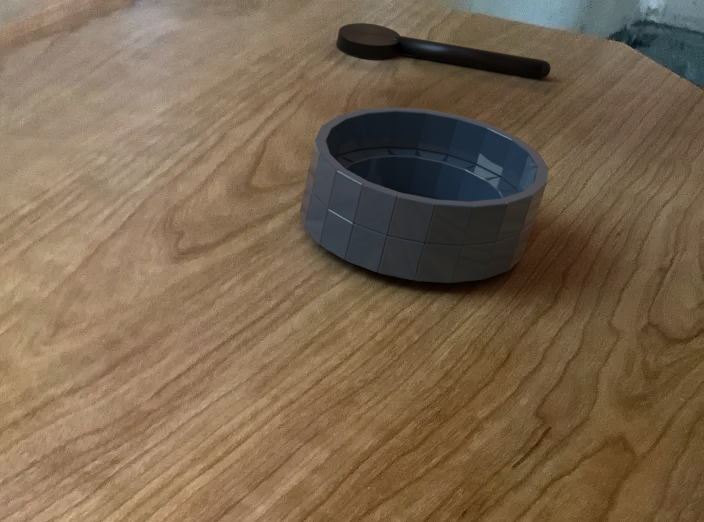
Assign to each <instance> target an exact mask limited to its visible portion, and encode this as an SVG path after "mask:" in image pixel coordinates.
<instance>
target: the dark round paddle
mask: <svg viewBox="0 0 704 522" xmlns="http://www.w3.org/2000/svg"><path fill="white" fill-rule="evenodd" d="M335 45H336V47H337V48H338V50H339V51H341V52H343V53H344V54H347V55H349V56H353V57H355V58H359V59H366V60H387V59H391V58H393V57H396V56H397V55H402V56H409V57H414V58H420V59H424V60H432V61H436V62H443V63H448V64H453V65H460V66H466V67H471V68H477V69H478V68H479V69H483V70H489V71H495V72H501V73H507V74H512V75H517V76H524V77H530V78H535V79H545V78H547V77H548V76H549V75H550V73H551V69H552V67H551V64H550V62H549V61H547V60H545V59H539V58H534V57H533V58H532V57H526V56H521V55H515V54H510V53H509V54H508V53H503V52H497V51H491V50H485V49H479V48H474V47H468V46H461V45H456V44H450V43H444V42H439V41H432V40H428V39H421V38H417V37H416V38H414V37H410V36H409V37H408V36H403V35H400V34H399V32H397V31H395V30H394V29H392V28H390V27H387V26H384V25H379V24H374V23H366V22H365V23H364V22H357V23H348V24H344V25H342V26H341V27H339V29H338V33H337V38H336V43H335Z"/></svg>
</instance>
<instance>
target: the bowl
mask: <svg viewBox="0 0 704 522" xmlns="http://www.w3.org/2000/svg"><path fill="white" fill-rule="evenodd" d="M549 170H550V169H549V167H548V165H547V164H546V162H545V160H544V158H543V157H542V154H541V153H540V152H538V151H537V150H536V149H534V147H532V146H531V145H529V144H528V143H527V142H526V141H524V140H523V139H521V138H520V137H518V136H517V135H514V134H512V133H509V132H508V131H505V130H503V129H501V128H499V127H498V126H495V125H493V124H489V123H486V122H484V121H480V120H477V119H474V118H471V117H467V116H464V115H460V114H455V113H450V112H445V111H440V110H433V109H426V108H414V107H398V106H397V107H396V106H395V107H394V106H388V107H375V108H374V107H373V108H363V109H358V110H354V111H351V112H350V111H349V112H347V113H346V112H345V113H342V114H339V115H336V116H335V117H333V118H331V119H330V120H328V121H327V122H325V123H324V124H322V125H320V128H319V130H318V132H317V134H316V136H315V138H314V142H313V147H312V151H311V156H310V162H309V166H308V171H307V176H306V180H305V184H304V190H303V195H302V198H301V199H302V200H301V204H300V209H299V215H300V218H301V223H302V225H303V228H304V230H305V231H306V232H307V233H308V235H309V236H311V238H312V239H313V240H314V241H315V242H316V243H317V244H318V245H319V246H321V247H322V248H323V249H325V250H326V251H328V252H330V253H332V254H333V255H335V256H337V257H339V258H340V259H342V260H343V261H346V262H348V263H350V264H353V265H356V266H358V267H361V268H364V269H366V270H368V271H369V270H370V271H371V272H375V273H377V274H380V275H381V274H382V275H385V276H389V277H391V278H397V279H403V280H408V281H414V282H424V283H425V282H428V283H443V284H453V283H454V284H455V283H464V282H465V283H466V282H473V281H483V280H487V279H489V278H492V277H494V276H497V275H501V274H502V273H506V272H508V271H510V270H511V269H512V268H513V267H514V266H515V265H516V264H517V263H518V262H519V261H520V260H522V259H523V257H524V254H525V251H526V248H527V245H528V242H529V239H530V236H531V233H532V230H533V227H534V223H535V221H536V217H537V215H538V211H539V208H540V205H541V202H542V199H543V196H544V193H545V190H546V188H547V184H548V177H549V172H550V171H549Z"/></svg>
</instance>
